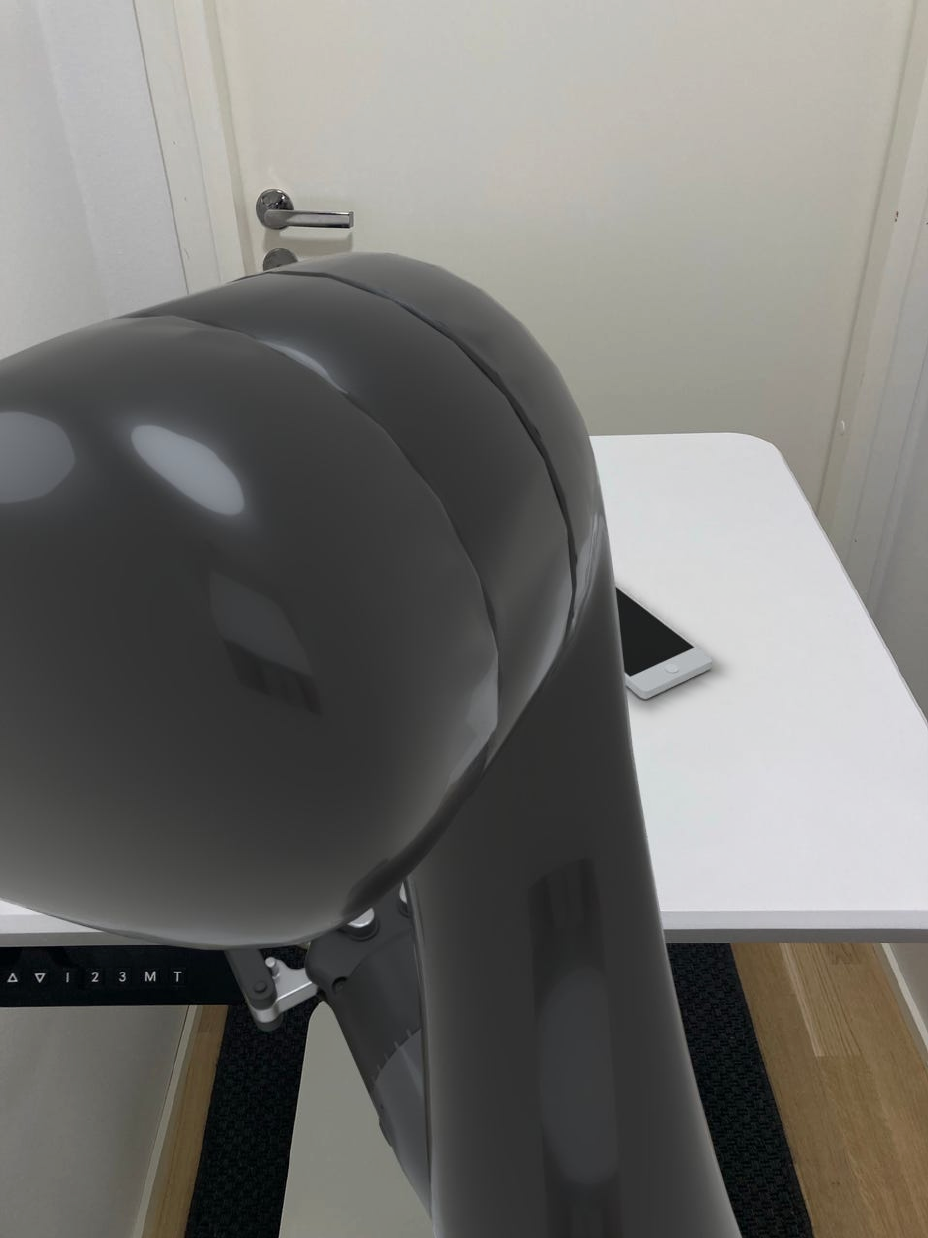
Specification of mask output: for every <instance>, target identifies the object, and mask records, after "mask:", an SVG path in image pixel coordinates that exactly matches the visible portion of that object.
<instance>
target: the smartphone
mask: <svg viewBox="0 0 928 1238" xmlns="http://www.w3.org/2000/svg"><path fill="white" fill-rule="evenodd" d="M615 589H616V597H617V606H618V615H619V624H620V634H621V643H622V653H623V662H624V672H625V682H626V688H628V689H629V690H631V691H632V692H633V693H634V694H635V695H637V696H638V697H639V698H641V699H642V700H648V699H651V698H652V697H654V696H656V695H658V694H661V693H662V692H664V691H666V690H669V689H670V688H673V687H675V686H678V685H680V684H681V683H683V682H686V681H687V680H690V679H692V678H694V677H696V676H698V675H701V674H702V673H704V672H706V671H709V670H711V669H712V665H713V664H712V663H713V659H712V658H711V656H710V655H708V654H707V653H706V652H705V651H704V650H702V649H701V648H699V647H698V646H697V645H695V644H694V643H693V642H692V641H690V640H689V639H688V638H687V637H685V636H684V635H682V634H681V633H680V632H678V630H676V629H675V628H673V627H672V626H671V625H670V624H668V623H667V622H666V621H665V620H663V619H662V618H661V617H659V616H658V615H656V614H655V613H654V612H653V611H651V610H650V609H649V608H647V607H646V606H645V605H643V604H642V603H641V602H639V601H638V600H637V599H635V598H634V597H633V596H631V595H630V594H629V593H628V592H627V591H625V590H624V589H623V588H621V587H620V586H619V585H617V584H616V583H615Z"/></svg>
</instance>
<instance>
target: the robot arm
mask: <svg viewBox="0 0 928 1238" xmlns="http://www.w3.org/2000/svg"><path fill="white" fill-rule="evenodd" d="M604 501H605V500H604V496H603V490H602V485H601V478H600V474H599V470H598V465H597V461H596V456H595V452H594V449H593V445H592V442H591V438H590V434H589V431H588V428H587V426H586V423H585V420H584V417H583V415H582V413H581V411H580V409H579V407H578V405H577V403H576V401H575V399H574V396H573V395H572V393H571V391H570V389H569V387H568V385H567V383H566V380H565V379H564V377H563V375H562V372H561V371H560V370H559V367H558V365H557V364H556V363H555V361H554V360H553V359H552V358H551V356H550V355H549V354H548V352H547V351H546V350H545V349H544V347H543V346H542V345H541V344H540V343H539V341H538V340H537V339H536V337H535V336H534V334H533V333H532V332H531V330H530V329H529V328H528V326H526V325H525V324H524V323H523V322H522V321H520V319H519V318H517V317H516V316H515V315H514V314H513V313H511V312H510V311H509V310H508V309H507V308H506V307H504V305H502V304H501V303H500V302H499V301H498V300H496V299H495V297H493V296H492V295H490V293H488V292H487V291H486V290H484V289H483V288H482V287H480V286H477V285H476V284H474V283H472V282H470V281H468V280H467V279H465V278H463V277H461V276H459V275H457V274H456V273H454V272H452V271H450V270H448V269H446V268H445V267H443V266H441V265H438V264H434V263H430V262H428V261H424V260H420V259H416V258H413V257H409V256H406V255H402V254H398V253H392V252H371V251H342V252H341V251H340V252H335V253H331V254H326V255H322V256H318V257H313V258H308V259H304V260H301V261H300V260H299V261H296V262H291V263H288V264H284V265H281V266H277V267H273V268H270V269H267V270H263V271H259V272H255V273H252V274H249V275H245V276H242V277H239V278H236V279H233V280H231V281H227V282H225V283H223V284H220V285H215V286H211V287H208V288H205V289H203V290H199V291H195V292H192V293H189V294H186V295H182V296H179V297H176V298H173V299H170V300H166V301H164V302H161V303H157V304H153V305H151V306H148V307H145V308H141V309H138V310H135V311H131V312H129V313H125V314H123V315H119V316H116V317H114V318H109V319H105V320H101V321H98V322H95V323H91V324H89V325H86V326H84V327H80V328H77V329H74V330H71V331H68V332H64V333H62V334H60V335H57V336H54V337H52V338H50V339H46V340H44V341H42V342H39V343H37V344H35V345H32V346H29V347H27V348H25V349H23V350H22V349H21V350H20V351H17V352H16V353H12V354H10V355H8V356H5V357H3V358H1V359H0V901H2V902H4V903H7V904H11V905H14V906H18V907H21V908H24V909H26V910H30V911H32V912H33V911H34V912H36V913H40V914H41V915H46V916H48V917H52V918H55V919H58V920H62V921H65V922H68V923H70V924H71V923H72V924H73V925H74V924H75V925H78V926H81V927H85V928H88V929H91V930H96V931H100V932H104V933H108V934H112V935H116V936H119V937H122V938H123V937H124V938H128V939H134V940H139V941H144V942H147V943H148V942H149V943H153V944H158V945H163V946H169V947H170V946H172V947H180V948H187V949H196V950H204V951H223V953H224V955H225V957H226V960H227V962H228V964H229V966H230V968H231V971H232V973H233V975H234V978H235V980H236V982H237V984H238V986H239V989H240V991H241V994H242V995H243V998H244V1001H245V1003H246V1005H247V1007H248V1009H249V1011H250V1013H251V1016H252V1019H253V1020H254V1022H255V1025H256V1027H257V1028H258V1029H259V1030H260V1031H262V1032H273V1031H275V1030H276V1029H278V1028H279V1027H280V1026H281V1025H282V1023H283V1021H284V1013H283V1012H285V1011H288V1010H289V1009H291V1008H293V1007H296V1006H297V1005H298V1004H301V1003H303V1002H305V1001H306V1000H309V999H311V998H313V997H314V996H315V997H316V998H318V999H319V1000H321V1001H323V1002H324V1003H325V1004H326V1005H327V1006H328V1007H329V1008H330V1010H331V1011H332V1013H333V1015H334V1017H335V1020H336V1022H337V1024H338V1026H339V1028H340V1031H341V1033H342V1036H343V1038H344V1041H345V1042H346V1046H347V1047H348V1050H349V1052H350V1054H351V1056H352V1058H353V1062H354V1063H355V1065H356V1069H357V1070H358V1073H359V1075H360V1077H361V1079H362V1082H363V1084H364V1087H365V1089H366V1090H367V1093H368V1096H369V1098H370V1100H371V1103H372V1106H373V1107H374V1109H375V1111H376V1114H377V1117H378V1126H379V1128H380V1131H381V1133H382V1135H383V1137H384V1139H385V1141H386V1142H387V1144H388V1146H389V1147H390V1148H391V1149H392V1151H393V1154H394V1156H395V1158H396V1161H397V1162H398V1164H399V1166H400V1168H401V1171H402V1172H403V1174H404V1176H405V1178H406V1179H407V1181H408V1183H409V1184H410V1186H411V1188H412V1190H414V1192H415V1194H416V1195H417V1197H418V1198H419V1200H420V1202H421V1204H422V1206H423V1207H424V1209H425V1211H426V1213H427V1215H428V1217H429V1219H430V1221H431V1225H432V1234H433V1238H743V1235H742V1233H741V1230H740V1226H739V1224H738V1222H737V1218H736V1215H735V1213H734V1210H733V1207H732V1204H731V1202H730V1201H731V1200H730V1199H729V1195H728V1191H727V1188H726V1186H725V1185H726V1184H725V1181H724V1179H723V1174H722V1172H721V1168H720V1165H719V1161H718V1158H717V1154H716V1151H715V1147H714V1143H713V1139H712V1136H711V1131H710V1127H709V1124H708V1121H707V1117H706V1114H705V1110H704V1106H703V1103H702V1098H701V1095H700V1092H699V1091H700V1090H699V1087H698V1083H697V1079H696V1075H695V1070H694V1066H693V1063H692V1058H691V1054H690V1050H689V1046H688V1041H687V1036H686V1032H685V1026H684V1023H683V1018H682V1013H681V1009H680V1003H679V999H678V994H677V991H676V986H675V980H674V976H673V972H672V971H673V970H672V965H671V961H670V956H669V951H668V947H667V942H666V937H665V930H664V926H663V924H664V923H663V919H662V914H661V908H660V902H659V897H658V889H657V885H656V884H657V883H656V880H655V874H654V867H653V862H652V856H651V849H650V844H649V839H648V838H649V837H648V833H647V826H646V821H645V814H644V809H643V803H642V796H641V791H640V785H639V778H638V772H637V765H636V758H635V753H634V746H633V737H632V728H631V720H630V710H629V701H628V692H627V686H626V682H625V672H624V662H623V653H622V643H621V634H620V624H619V615H618V606H617V597H616V589H615V584H616V581H615V573H614V565H613V558H612V550H611V549H612V548H611V542H610V541H611V540H610V535H609V527H608V522H607V520H608V519H607V515H606V509H605V502H604ZM293 945H294V946H297V947H299V948H301V949H303V950H305V951H307V952H306V954H305V958H304V962H303V963H304V966H303V968H299V969H293V968H290V967H288V966H287V965H286V964H285V962H283V960H280V959H276V958H275V957H273V956H269V957H267V958H266V959H264V957H263V955H262V953H261V951H260V950H261V949H270V948H277V947H278V948H279V947H286V946H293Z"/></svg>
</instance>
